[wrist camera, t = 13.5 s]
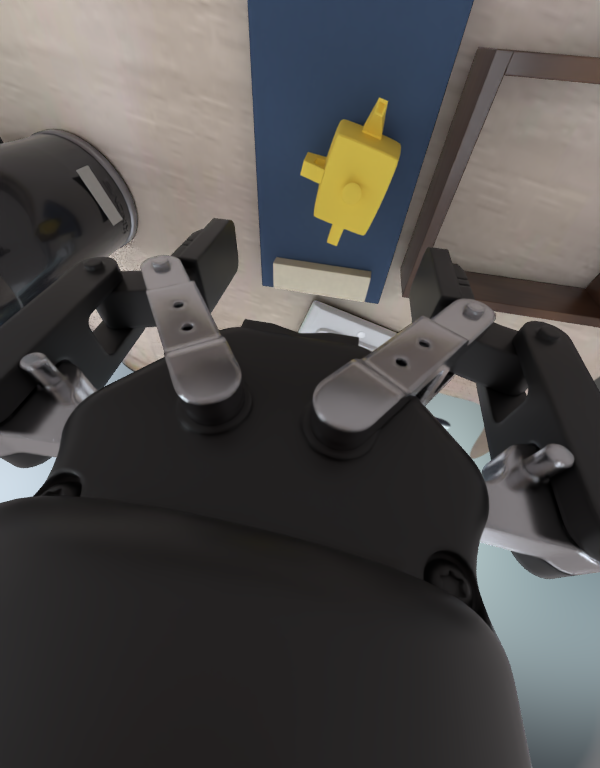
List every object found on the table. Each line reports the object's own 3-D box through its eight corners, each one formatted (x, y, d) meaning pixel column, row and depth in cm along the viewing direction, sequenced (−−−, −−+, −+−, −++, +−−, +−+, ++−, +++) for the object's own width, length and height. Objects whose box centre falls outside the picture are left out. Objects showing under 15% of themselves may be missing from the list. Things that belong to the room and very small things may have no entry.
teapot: (332, 67, 17) (319, 73, 14) (419, 106, 18) (426, 121, 15) (297, 207, 23) (282, 234, 20) (362, 233, 24) (358, 263, 21)
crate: (400, 269, 27) (401, 296, 24) (477, 47, 16) (496, 48, 14) (587, 297, 26) (611, 329, 23) (802, 75, 15) (897, 83, 12)
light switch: (367, 411, 39) (278, 381, 36) (367, 387, 41) (284, 357, 39) (421, 363, 31) (310, 320, 28) (416, 336, 33) (315, 295, 31)
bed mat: (265, 279, 30) (259, 292, 29) (250, -71, 15) (235, -83, 13) (378, 297, 29) (377, 311, 28) (487, -56, 14) (500, -68, 12)
